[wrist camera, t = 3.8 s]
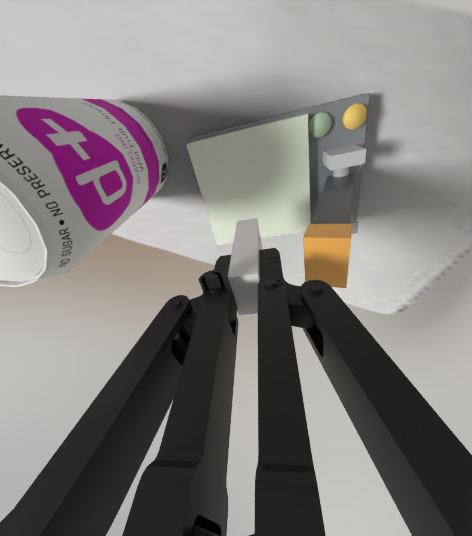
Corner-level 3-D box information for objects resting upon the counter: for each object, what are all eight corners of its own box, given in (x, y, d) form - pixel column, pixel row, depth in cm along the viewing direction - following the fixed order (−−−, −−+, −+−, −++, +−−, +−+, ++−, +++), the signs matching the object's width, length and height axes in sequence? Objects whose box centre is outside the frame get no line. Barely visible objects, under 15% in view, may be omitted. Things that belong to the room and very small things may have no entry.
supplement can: (151, 89, 18) (-67, 57, 6) (181, 191, 23) (97, 290, 11) (64, 109, 19) (-266, 116, 7) (110, 202, 24) (-38, 301, 12)
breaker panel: (192, 137, 20) (179, 144, 16) (361, 94, 17) (386, 91, 14) (220, 235, 25) (215, 254, 22) (350, 214, 23) (366, 232, 20)
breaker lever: (327, 165, 19) (302, 226, 11) (356, 161, 18) (352, 227, 10) (326, 213, 21) (305, 290, 14) (352, 212, 20) (345, 295, 13)
